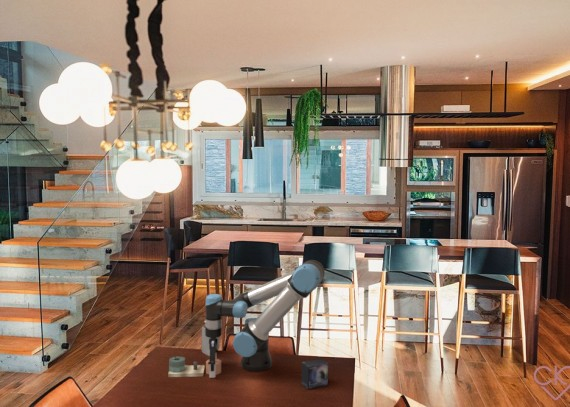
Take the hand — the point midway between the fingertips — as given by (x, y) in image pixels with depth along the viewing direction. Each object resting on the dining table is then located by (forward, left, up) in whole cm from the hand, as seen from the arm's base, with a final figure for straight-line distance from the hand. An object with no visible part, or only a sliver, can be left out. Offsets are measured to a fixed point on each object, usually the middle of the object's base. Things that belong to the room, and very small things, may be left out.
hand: (213, 371), depth 247 cm
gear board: (+12, 0, 0) cm, 12 cm away
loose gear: (0, 0, 0) cm, 0 cm away
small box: (-46, +18, 0) cm, 49 cm away
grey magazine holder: (+3, -27, 0) cm, 27 cm away
